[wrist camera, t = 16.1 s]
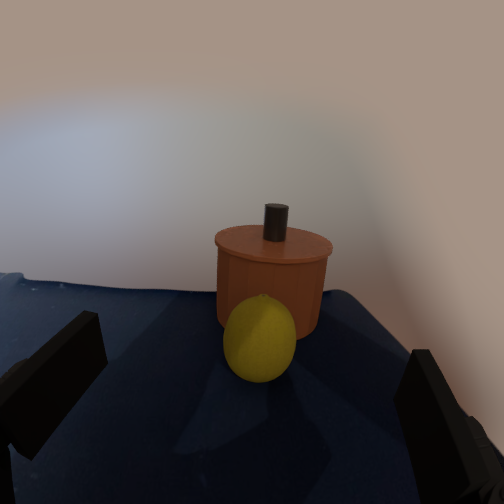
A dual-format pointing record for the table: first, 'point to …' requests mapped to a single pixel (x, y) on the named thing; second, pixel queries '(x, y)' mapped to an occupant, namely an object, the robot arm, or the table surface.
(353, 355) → the table surface
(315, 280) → the pot
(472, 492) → the robot arm
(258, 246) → the pot lid
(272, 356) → the lemon
